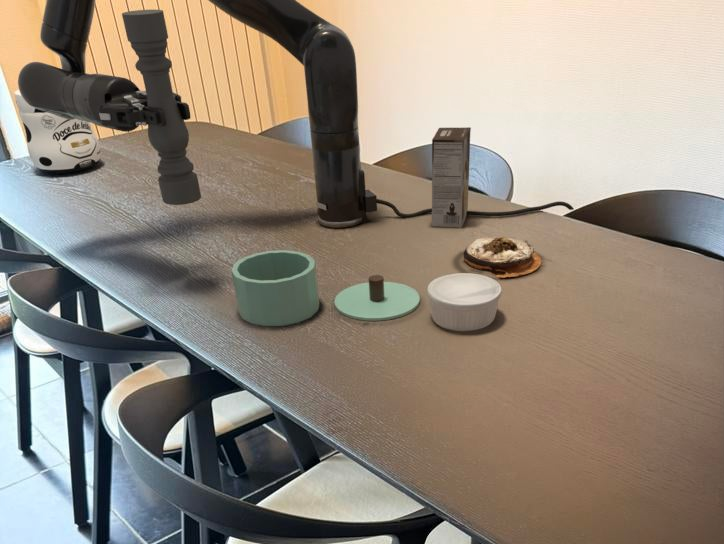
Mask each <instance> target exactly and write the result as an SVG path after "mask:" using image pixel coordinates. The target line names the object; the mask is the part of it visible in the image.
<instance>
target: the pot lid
mask: <svg viewBox="0 0 724 544" xmlns="http://www.w3.org/2000/svg"><path fill="white" fill-rule="evenodd" d="M420 302H421V298H420V294H419V292H418V291H417V290H416V289H415V288H412V286H409V285H406V284H403V283H399V282H394V281H393V282H392V281H385V278H384V276H383V275H380V274H373V275H370V276H368V282H362V283H358V284H354V285H351V286H349V287H346V288H344V289H343V290H341V291H340V292H338V293H337V294H336V296H335V297H334V302H333V303H334V308H335V310H336V311H337V312H338V313H339V314H341V315H343V316H345V317H347V318H350V319H352V320H353V319H354V320H359V321H367V322H380V321H381V322H382V321H389V320H393V319H394V320H395V319H398V318H401V317H402V318H403V317H405V316H407V315H409V314H410V313H412V312H414V311H415V310H416V309H417V308H418V307H419V305H420Z"/></svg>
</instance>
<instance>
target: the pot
mask: <svg viewBox="0 0 724 544" xmlns="http://www.w3.org/2000/svg"><path fill="white" fill-rule="evenodd" d="M230 272H231V277H232V282H233V289H234V292H235V293H234V294H235V299H236V303H237V304H236V305H237V310H238V314H239V315H240V317H241V319H242V320H243V321H245V322H248V323H250V324H252V325H257V326H262V327H284V326H289V325H293V324H297V323H301V322H303V321H305V320H308V319H310V318H312V317H313V316H314V315H315V314H316V313H317V312H318V311H319V310H320V308H319V307H320V302H321V301H320V294H319V284H318V274H317V264H316V260H315V259H314V258H313V257H312V256H311V255H310V254H307V253H304V252H302V251H296V250H288V249H284V250H283V249H282V250H281V249H279V250H267V251H262V252H257V253H253V254H251V255H247V256H244V257H242V258H240V259H239V260H237V261H236V262H235V263H234V264H233V266H232V268H231V271H230Z"/></svg>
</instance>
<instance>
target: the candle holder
mask: <svg viewBox="0 0 724 544" xmlns="http://www.w3.org/2000/svg"><path fill="white" fill-rule="evenodd" d="M121 17H122V21H123V25H124V30H125V33H126V39H127V42H128V43H130V47H131V49H132V50H133V51H134V53H135V55H136V56H137V57H138V60H137V61H136V62H135V65H134V66H135V69H136V70H137V71H138V72H140V75H141V76H142V80H143V84H144V88H145V91H146V94H147V102H148V107H152V108H159V109H162V110H163V111H164V115H165V119H166V125H165V126H162V127H161V126H156V125H151V124H148V125H147V137H148V141H149V143H150V145H151V146H152V148H153V149H154V150H155V151H156V152H158V153H157V156H158V157H159V158H160V160H159V163H158V165H157V170H156V171H157V173H158V174H160V176H158V179H157V181H158V185H159V191H160V195H161V198H162V202H163V203H164V204H166V205H170V206H182V205H189V204H192V203H196V202H197V201H200V200H201V199H202V194H201V189H200V182H199V179H198V178H199V177H198V174H197V173H196V172H194V169H195V167H194V163H193V162H191V161H190V159H189V158H188V156H186V155H187V153H188V151H187V148H188V145H189V142H190V133H189V129H188V127H187V125H186V122H185V120H183V118H182V116H181V113H180V110H179V108H178V105H177V103H176V100H175V98H174V95H173V93H174V91H173V86H172V81H171V77H170V76H171V75H170V71H171V68H172V67H173V62H172V60H171V59H170V58H168V57H166V54H167V47H168V39H169V34H168V29H167V24H166V19H165V18H166V17H165V14H164V10H163V9H138V10H128V11H125V12H121Z"/></svg>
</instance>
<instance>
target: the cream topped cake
mask: <svg viewBox="0 0 724 544" xmlns="http://www.w3.org/2000/svg"><path fill="white" fill-rule="evenodd" d="M534 250H535V249H534V247H533V244H530V243H529V240H526V239H520V238H517V237H512V236H490V237H489V236H488V237H480V238H476V239H474V240H473V241H471V242H470V243H468V245H467V246H466V248H465V250H464V251H463V259H464V260H463V262H464V263H465V264H466V265H468V266H469V267H471V268H473V269H478V270H481V271H485V272H489V273H490V274H492V275H493V276H494V277H496V278H497V279H502V278H503V279H505V278H507V277H508V278H511V277H519V276H524V275H527V274H530V273H533V272H534V271H536V270H538V268H539V267H540V266H541V264H542V258H541V257H540V256H539V254H538V253H536V252H535V251H534Z"/></svg>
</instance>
